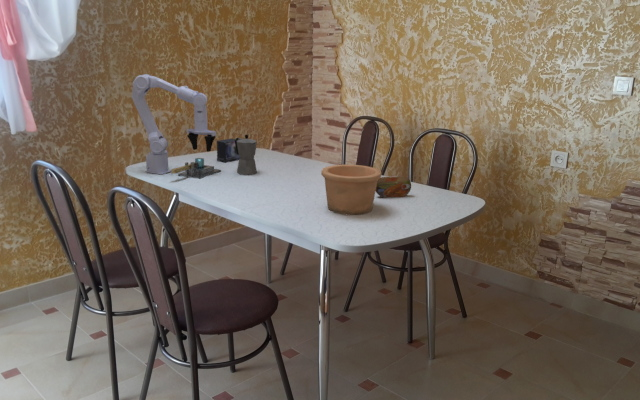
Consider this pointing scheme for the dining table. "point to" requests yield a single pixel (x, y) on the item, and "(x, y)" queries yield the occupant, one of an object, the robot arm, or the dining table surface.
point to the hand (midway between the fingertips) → (201, 150)
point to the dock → (199, 171)
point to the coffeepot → (246, 155)
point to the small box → (227, 150)
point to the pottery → (350, 188)
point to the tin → (393, 186)
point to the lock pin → (184, 168)
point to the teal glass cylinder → (200, 162)
